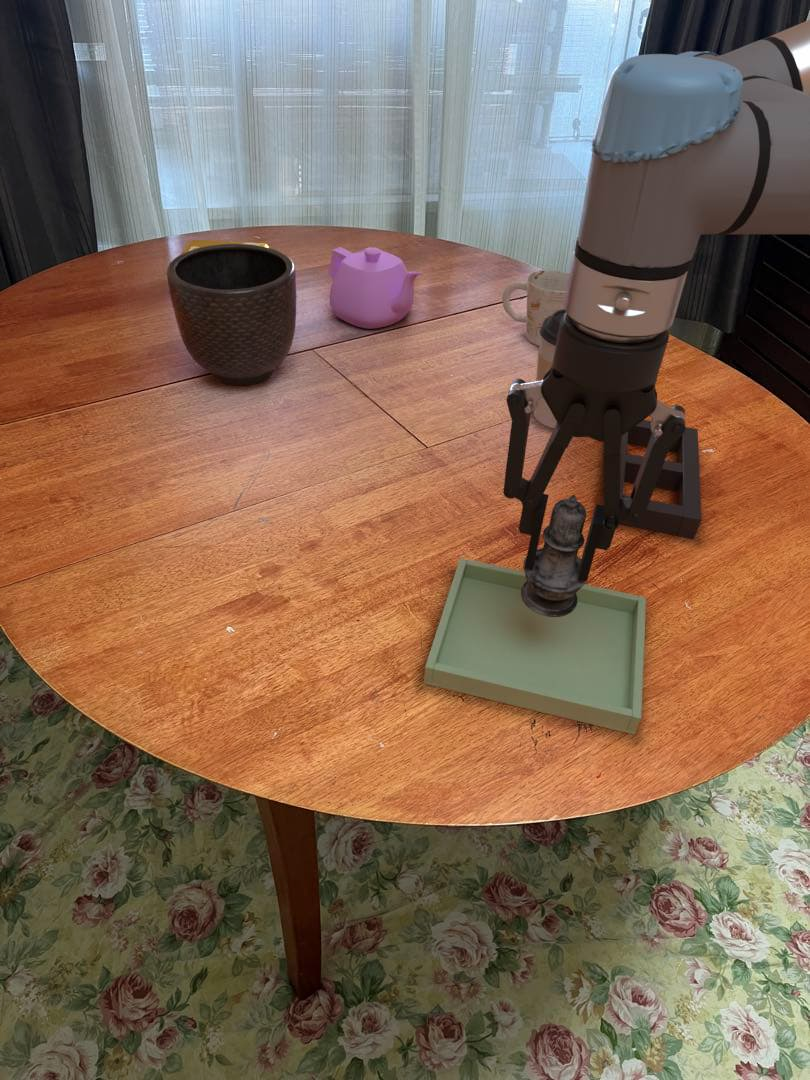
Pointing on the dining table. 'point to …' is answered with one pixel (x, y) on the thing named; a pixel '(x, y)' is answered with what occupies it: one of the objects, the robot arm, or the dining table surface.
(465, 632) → the tray
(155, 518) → the dining table surface
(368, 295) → the teapot
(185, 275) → the planter
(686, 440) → the rack
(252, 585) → the dining table surface
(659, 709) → the dining table surface
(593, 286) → the robot arm
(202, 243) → the element tile
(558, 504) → the dark grey chess piece
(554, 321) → the coffee cup
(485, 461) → the dining table surface
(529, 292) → the mug
